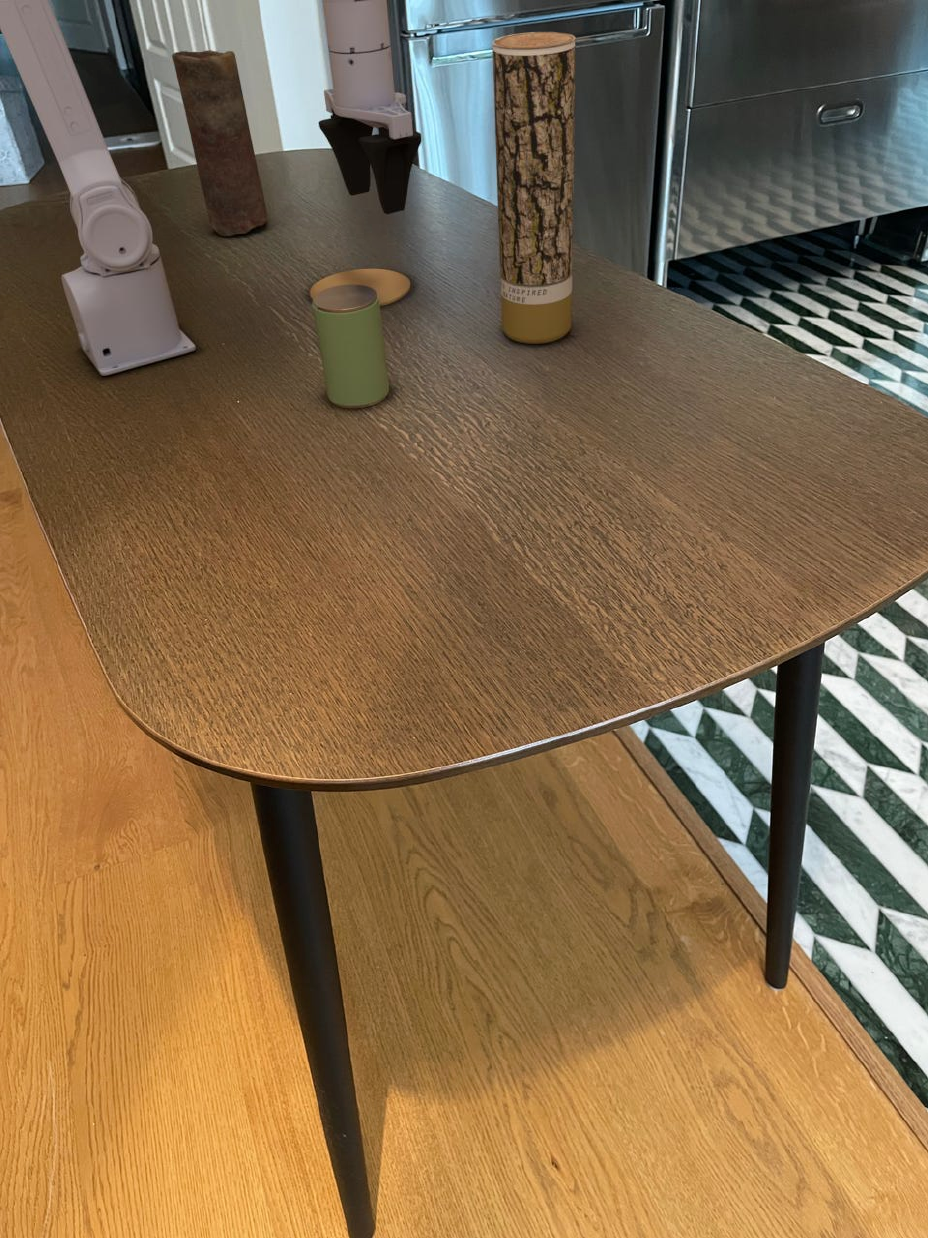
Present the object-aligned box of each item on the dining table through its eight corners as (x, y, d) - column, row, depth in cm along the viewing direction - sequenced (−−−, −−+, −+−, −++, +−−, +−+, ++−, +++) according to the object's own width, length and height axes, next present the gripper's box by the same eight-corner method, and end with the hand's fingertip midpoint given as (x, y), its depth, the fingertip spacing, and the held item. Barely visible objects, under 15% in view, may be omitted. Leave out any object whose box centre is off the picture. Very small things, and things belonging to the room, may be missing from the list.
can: (344, 415, 84) (328, 315, 78) (317, 391, 88) (301, 294, 82) (400, 396, 86) (389, 298, 80) (372, 374, 90) (360, 278, 84)
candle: (205, 224, 126) (165, 49, 113) (259, 213, 128) (226, 40, 115) (219, 241, 121) (179, 59, 108) (276, 229, 123) (243, 49, 110)
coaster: (336, 319, 100) (335, 316, 100) (294, 287, 108) (293, 284, 107) (428, 292, 104) (428, 290, 104) (382, 263, 112) (381, 261, 111)
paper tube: (566, 348, 92) (570, 47, 76) (496, 345, 93) (485, 49, 77) (575, 318, 97) (580, 30, 81) (508, 316, 98) (499, 32, 82)
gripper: (436, 51, 85) (447, 210, 94) (362, 31, 95) (378, 177, 104) (365, 64, 83) (382, 227, 91) (296, 42, 92) (318, 191, 101)
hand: (376, 201), depth 97 cm, fingers open, 7 cm apart
